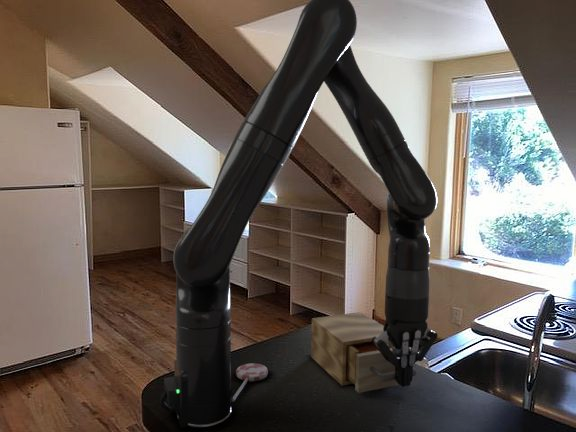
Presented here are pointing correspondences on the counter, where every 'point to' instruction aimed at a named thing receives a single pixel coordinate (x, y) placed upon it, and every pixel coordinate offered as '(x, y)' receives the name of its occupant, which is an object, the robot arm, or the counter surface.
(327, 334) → the cabinet
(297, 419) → the counter surface
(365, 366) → the drawer
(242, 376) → the lollipop
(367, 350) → the block
